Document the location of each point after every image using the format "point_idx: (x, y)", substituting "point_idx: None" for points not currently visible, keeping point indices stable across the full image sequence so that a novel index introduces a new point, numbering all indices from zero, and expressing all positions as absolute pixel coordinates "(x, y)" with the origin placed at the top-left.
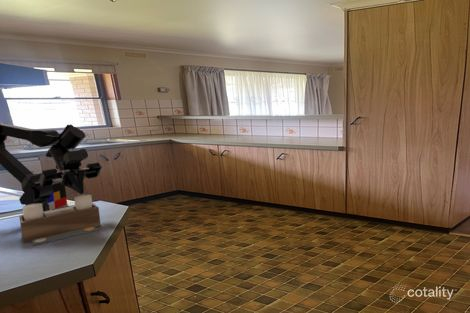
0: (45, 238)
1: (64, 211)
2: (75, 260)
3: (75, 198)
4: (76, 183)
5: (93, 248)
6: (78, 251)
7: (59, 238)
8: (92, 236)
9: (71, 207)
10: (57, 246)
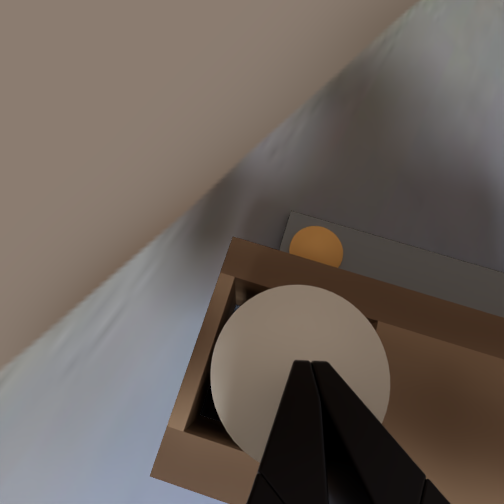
0: None
1: (447, 399)
2: (480, 25)
3: (386, 374)
4: (401, 483)
5: (400, 56)
6: (448, 77)
7: (466, 263)
8: (343, 165)
9: None
10: (493, 191)
